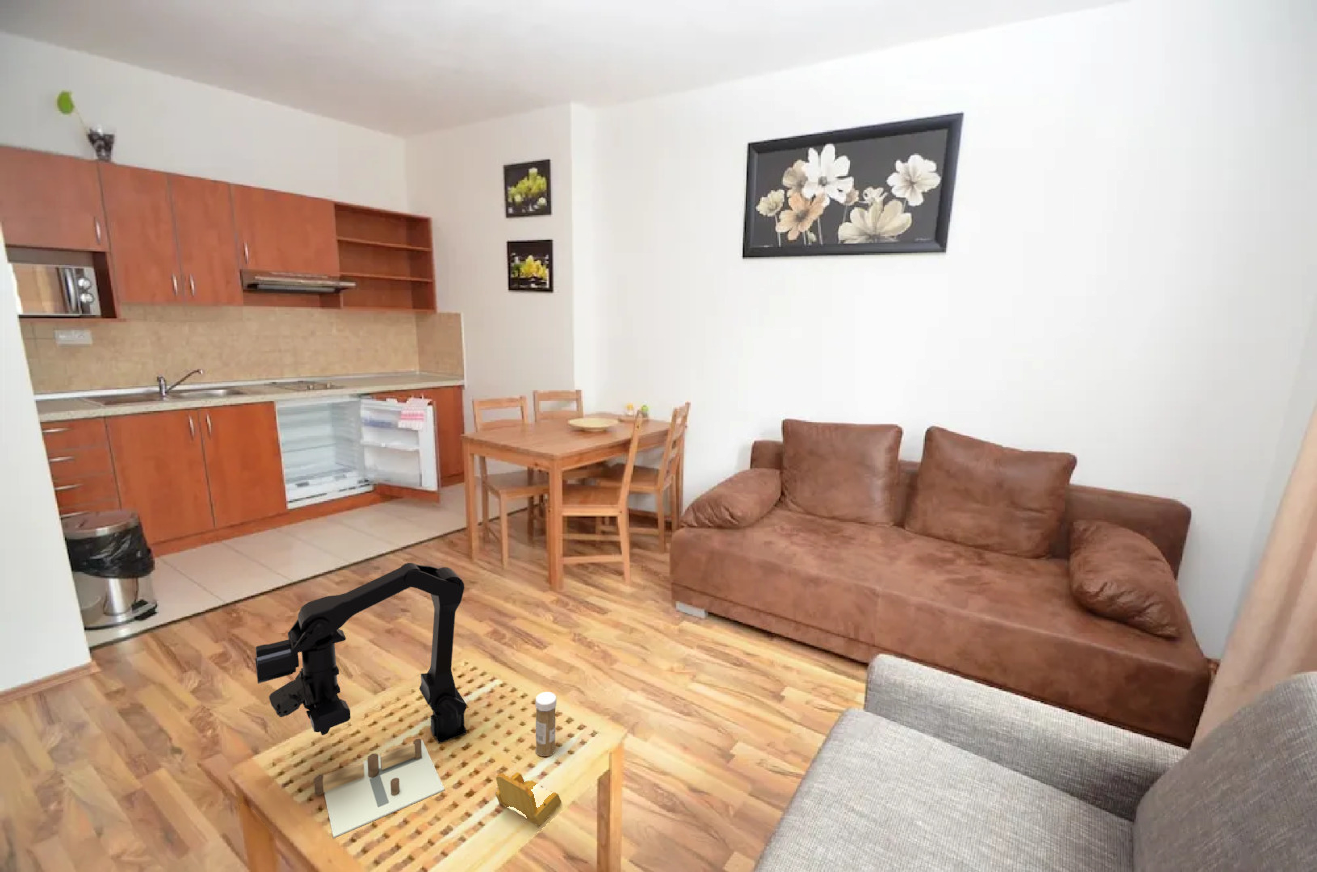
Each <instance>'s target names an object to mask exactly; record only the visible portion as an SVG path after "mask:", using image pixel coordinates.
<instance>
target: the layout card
mask: <svg viewBox="0 0 1317 872" xmlns="http://www.w3.org/2000/svg"><path fill="white" fill-rule="evenodd" d="M421 749H422V757H421V758H420V759H418V760H415V759H414V758H411V759H408V760H406V761H403V762H401V763H398V764H395V765H393V766H390V767H388V768H385V769H381V760H380V754H378V762H379V774H378V775H377V776H376V777H374V778H370V777H369V776H368V759H366V760H362V761H363V763H364V777H362V778H359V779H357V780H354V781H351V782H349V783H346V784H344V785H341V786H338V787H336V788H333V789H331V790H328V791H325V792H323V794H324V799H325V803H326V808H327V813H328V817H329V823H330V828H331V833H332V838H333V839H335V838H337V837H340V836H342V835H344V834H346V833H349V832H352V831H354V830H355V829H358V828H360V827H361V828H362V827H363V826H366V825H367V824H369V823H372V822H374V821H377V820H380V819H381V818H382V819H383V818H384V817H385V816H388V815H391V814H393V813H395V812H399V811H400V810H402V809H404V808H407V807H409V806H412V805H414V804H416V803H418V802H419V803H420V802H421V801H423V800H425V799H428V798H430V797H432V796H434V795H437V794H439V793H441V792H444V791H445V787H444V783H442V780H441V777H440V775H439V774H438V771H437V770H436V767H435V765H434V762H433V761H432V758H431V756H430V753H429V752H428V750H427V747H426V745H425V743H424V741H423V739H421ZM394 778H399V787H400V792H399V794H398V795H395V796H392V795H391V783H390V782H391V780H392V779H394Z"/></svg>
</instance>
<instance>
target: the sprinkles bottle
mask: <svg viewBox="0 0 1317 872" xmlns="http://www.w3.org/2000/svg"><path fill="white" fill-rule="evenodd" d="M556 706H557V696H556V694H555V693H554V692H550V691H543V692H541V693H539V694H537V696H536V697H535V709H536V710H535V711H536V713H535V715H536V716H535V744H536V745H535V746H536V747H535V754H537V755H538V756H539V755H540V756H539V757H542V756H548V755H550V756H551V754H552V753H553V752H554V751H555V752H556V748H557V747H556ZM555 752H554V753H555ZM554 753H553V754H554ZM553 754H552V755H553ZM548 757H549V756H548Z"/></svg>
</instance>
